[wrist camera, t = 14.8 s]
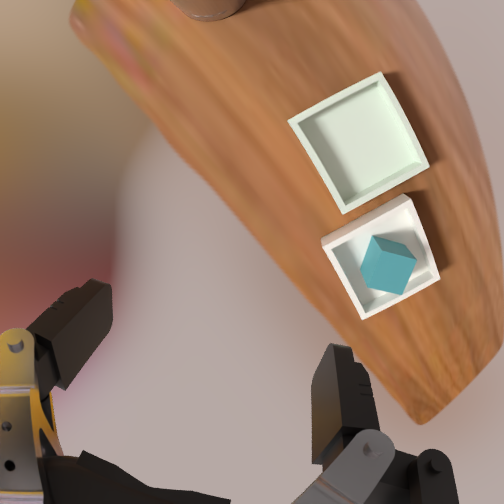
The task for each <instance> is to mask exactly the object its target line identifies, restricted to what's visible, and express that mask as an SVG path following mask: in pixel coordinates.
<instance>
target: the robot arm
mask: <svg viewBox="0 0 504 504" xmlns="http://www.w3.org/2000/svg"><path fill="white" fill-rule="evenodd" d="M170 1H171V2H172V3H174V4H175V5H176V6H177V7H178V8H179V9H180V10H181V11H183V12H184V13H185V14H186V15H187V16H189V17H190V18H192V19H195V20H198V21H216V20H220V19H223V18H226V17H228V16H230V15H232V14H233V13H235V12H236V11H237V10H238V9H240V8H241V6H242V5H243V4H244V3H245V1H246V0H170ZM112 321H113V310H112V288H111V285H110V284H108V283H104V282H102V281H99V280H96V279H93V278H92V279H90V280H89V281H88V282H86V283H85V284H84V285H83V286H82V287H81V288H78V287H76V288H74V289H71V290H69V291H67V292H65V293H64V294H63V295H62V296H61V297H60V298H58V299H57V302H56V301H55V302H54V303H53V304H52V305H51V306H50V308H48V309H46V311H44V312H43V313H42V314H41V315H40V316H39V317H38V318H37V319H36V320H35V321H34V322H33V323H32V324H31V325H30V326H29V327H27V329H22V328H14V329H10V330H7V331H5V332H4V333H3V334H1V335H0V504H230V502H231V500H229V499H224V498H220V497H215V496H211V495H206V494H202V493H199V492H194V491H185V490H171V489H160V488H153V487H149V486H147V485H145V484H144V483H142V482H140V481H139V480H137V479H136V478H134V477H133V476H131V475H130V474H128V473H126V472H125V471H124V470H122V469H121V468H119V467H118V466H116V465H114V464H112V463H110V462H108V461H105V460H103V459H101V458H99V457H96V456H94V455H92V454H90V453H88V452H86V451H84V450H83V451H82V453H81V455H80V456H79V457H73V456H64V454H63V451H62V448H61V445H60V442H59V439H58V435H57V429H56V422H55V415H54V409H53V399H52V393H51V390H52V389H53V387H54V386H57V387H59V388H61V389H63V390H66V389H67V388H68V386H69V385H70V384H71V382H72V381H73V379H74V378H75V377H76V375H77V374H78V373H79V371H80V370H81V368H82V367H83V366H84V364H85V363H86V361H87V360H88V359H89V357H90V356H91V355H92V353H93V352H94V351H95V350H96V348H97V347H98V345H99V344H100V343H101V342H102V340H103V339H104V338H105V336H106V335H107V334H108V333H109V331H110V329H111V325H112ZM311 401H312V402H311V404H312V464H320V465H323V473H321V475H319V477H318V478H317V479H316V480H315V481H314V482H313V483H312V484H311V485H310V486H309V487H308V488H307V489H306V490H305V491H304V492H303V493H302V494H301V495H300V496H299V497H298V498H297V499H295V500H294V501H293V502H292V503H291V504H459V500H458V494H457V489H456V484H455V479H454V474H453V469H452V465H451V462H450V460H449V458H448V457H447V456H446V455H445V454H444V453H443V452H441V451H439V450H436V449H428V450H425V451H423V452H422V453H421V454H420V455H419V456H418V457H417V456H414V455H411V454H407V453H404V452H401V451H398V450H396V449H395V447H394V444H393V442H392V441H391V439H390V438H389V437H388V436H387V435H386V434H384V433H382V432H381V431H380V427H379V421H378V416H377V411H376V406H375V401H374V398H373V392H372V388H371V383H370V378H369V374H368V372H367V371H366V370H365V368H364V367H363V365H362V364H361V363H357V362H354V357H353V352H352V349H351V347H348V346H343V345H337V344H332V343H331V344H329V345H328V347H327V349H326V351H325V353H324V355H323V357H322V359H321V362H320V364H319V366H318V367H317V370H316V371H315V374H314V376H313V380H312V385H311Z"/></svg>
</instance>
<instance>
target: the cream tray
mask: <svg viewBox="0 0 504 504" xmlns="http://www.w3.org/2000/svg"><path fill="white" fill-rule="evenodd" d="M372 236H376V237H380V238H383V239H387V240H390V241H394V242H397V243H401V244H404V245H405V246H406V247H407V248H408V249H409V251H410V252H411V253H412V254H413V255H414V257H415V258H416V259H417V262H416V264H415V267H414V269H413V271H412V274H411V276H410V278H409V281H408V283H407V285H406V287H405V290H404V292H403V294H402V295H398V294H394V293H389V292H385V291H381V290H376V289H372V288H367V286H366V283H365V281H364V278H363V276H362V273H361V271H360V267H361V265H362V262H363V259H364V256H365V254H366V251H367V248H368V245H369V243H370V240H371V237H372ZM321 243H322V247H323V249H324V250H325V252H326V254H327V256H328V258H329V259H330V261H331V263H332V265H333V266H334V268H335V270H336V272H337V274H338V276H339V277H340V279H341V281H342V283H343V285H344V287H345V288H346V290H347V292H348V294H349V296H350V298H351V300H352V301H353V303H354V305H355V307H356V309H357V311H358V313H359V315H360V317H361V319H362V320H364V319H366V318H368V317H370V316H372V315H374V314H376V313H378V312H380V311H382V310H384V309H386V308H388V307H390V306H392V305H394V304H396V303H397V302H399V301H401V300H403V299H405V298H407V297H409V296H411V295H413V294H414V293H416V292H418V291H420V290H422V289H423V288H425V287H427V286H429V285H431V284H432V283H434V282H436V281H438V280H439V279H440V276H439V273H438V270H437V267H436V264H435V261H434V258H433V255H432V252H431V249H430V246H429V243H428V240H427V238H426V235H425V232H424V230H423V227H422V224H421V222H420V219H419V217H418V214H417V212H416V209H415V207H414V205H413V202H412V200H411V198H409V197H408V196H406V195H405V194H401V195H399V196H397V197H396V198H394V199H392V200H390V201H388V202H387V203H385V204H383V205H381V206H379V207H377V208H376V209H374V210H372V211H370V212H368V213H366V214H365V215H363V216H361V217H359V218H357V219H355V220H354V221H352V222H350V223H348V224H346V225H344V226H342V227H341V228H339V229H337V230H335V231H333V232H331V233H329V234H328V235H326V236H324V237H322V238H321Z"/></svg>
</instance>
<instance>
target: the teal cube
mask: <svg viewBox="0 0 504 504" xmlns="http://www.w3.org/2000/svg"><path fill="white" fill-rule="evenodd" d="M416 262H417V259H416V258H415V257H414V255H413V254H412V253H411V252H410V251H409V249H408V248H407V247H406V246H405V245H404V244H401V243H397V242H394V241H390V240H387V239H383V238H380V237H376V236H372V237H371V240H370V243H369V245H368V248H367V251H366V254H365V256H364V259H363V262H362V265H361V267H360V271H361V273H362V276H363V278H364V281H365V283H366V286H367V288H372V289H376V290H381V291H385V292H389V293H394V294H398V295H402V294H403V292H404V290H405V287H406V285H407V283H408V281H409V278H410V276H411V274H412V271H413V269H414V267H415V264H416Z"/></svg>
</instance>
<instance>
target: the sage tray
mask: <svg viewBox="0 0 504 504" xmlns="http://www.w3.org/2000/svg"><path fill="white" fill-rule="evenodd" d="M288 123H289V124H290V126H291V127H292V129H293V130H294V132H295V134H296V135H297V137H298V138H299V140H300V142H301V143H302V145H303V147H304V148H305V150H306V151H307V153H308V155H309V156H310V158H311V160H312V161H313V163H314V165H315V166H316V168H317V170H318V172H319V173H320V175H321V177H322V178H323V180H324V182H325V184H326V185H327V187H328V189H329V191H330V193H331V194H332V196H333V198H334V200H335V202H336V203H337V205H338V207H339V209H340V211H341V213H342V214H345V213H347V212H349V211H351V210H352V209H354V208H356V207H358V206H360V205H362V204H363V203H365V202H367V201H369V200H371V199H373V198H374V197H376V196H378V195H380V194H382V193H383V192H385V191H387V190H389V189H391V188H393V187H394V186H396V185H398V184H400V183H402V182H403V181H405V180H407V179H409V178H411V177H413V176H414V175H416V174H418V173H420V172H422V171H423V170H425V169H427V168H429V167H430V166H429V164H428V161H427V159H426V157H425V155H424V152H423V150H422V148H421V146H420V144H419V141H418V139H417V137H416V135H415V133H414V131H413V129H412V127H411V125H410V123H409V121H408V119H407V117H406V115H405V113H404V111H403V109H402V108H401V106H400V104H399V102H398V100H397V98H396V97H395V95H394V93H393V91H392V90H391V88H390V86H389V84H388V83H387V81H386V79H385V78H384V76H383V74H382V73H381V72H379V73H377V74H374V75H372V76H370V77H368V78H366V79H364V80H362V81H360V82H358V83H356V84H354V85H352V86H350V87H348V88H346V89H344V90H342V91H340V92H338V93H337V94H335V95H333V96H331V97H329V98H327V99H325V100H323V101H322V102H320V103H318V104H316V105H314V106H312V107H311V108H309V109H307V110H305V111H303V112H302V113H300V114H298V115H296V116H295V117H293V118H291V119H289V120H288Z"/></svg>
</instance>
